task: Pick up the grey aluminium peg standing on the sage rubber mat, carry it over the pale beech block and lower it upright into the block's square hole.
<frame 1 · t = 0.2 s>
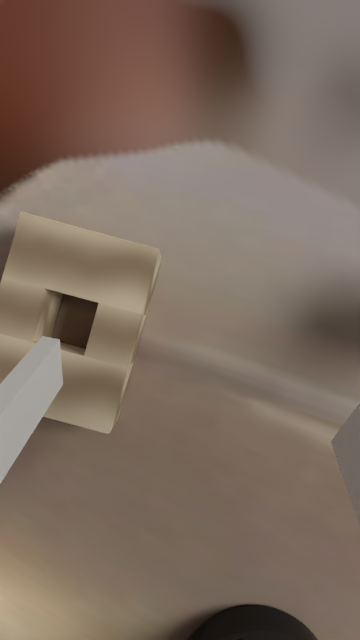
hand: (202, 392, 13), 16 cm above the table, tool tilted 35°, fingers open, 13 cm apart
block: (80, 322, 29), on the table
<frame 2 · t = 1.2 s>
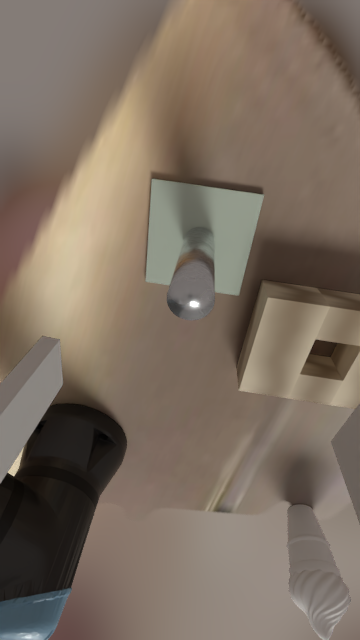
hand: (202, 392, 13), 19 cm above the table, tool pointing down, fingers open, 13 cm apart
soft serve ice cream cone: (299, 509, 52), on the table
peg: (199, 242, 29), resting on mat
mat: (199, 241, 29), on the table
block: (318, 338, 33), on the table
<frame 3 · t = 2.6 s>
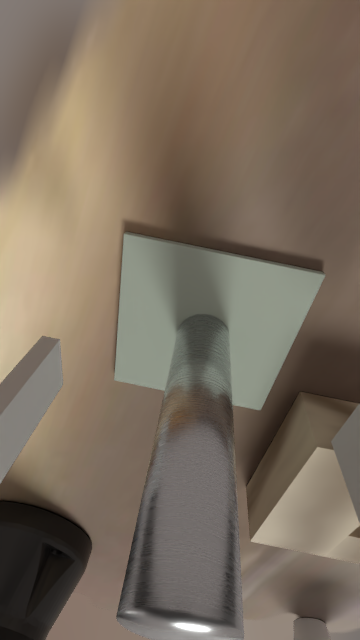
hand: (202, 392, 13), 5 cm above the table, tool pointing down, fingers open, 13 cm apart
soft serve ice cream cone: (309, 620, 42), on the table
peg: (202, 336, 17), resting on mat
mat: (203, 332, 17), on the table
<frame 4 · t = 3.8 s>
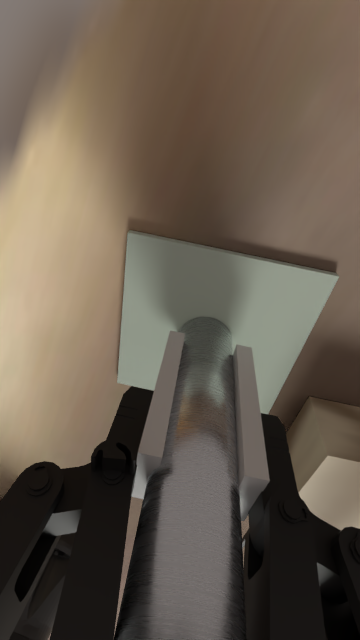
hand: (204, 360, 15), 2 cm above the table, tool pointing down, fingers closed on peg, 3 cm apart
peg: (204, 339, 16), resting on mat, touching gripper
mat: (209, 334, 17), on the table
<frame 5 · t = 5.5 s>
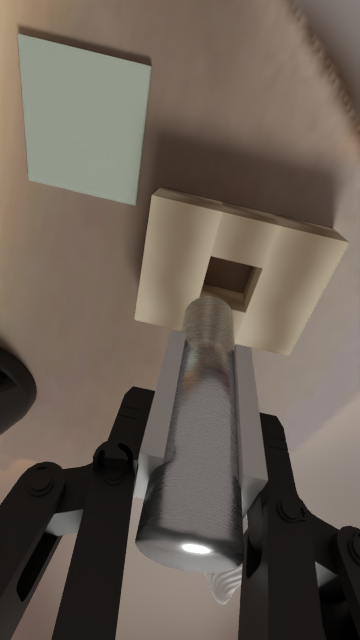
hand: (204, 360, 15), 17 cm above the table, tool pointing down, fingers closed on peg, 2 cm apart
soft serve ice cream cone: (224, 475, 50), on the table
peg: (208, 317, 18), point 13 cm above the table, touching gripper
mat: (85, 129, 25), on the table
block: (228, 268, 30), on the table
when the fingers open (5 cm above the table, at t = 7.6 s): peg drops 1 cm, resting in block.
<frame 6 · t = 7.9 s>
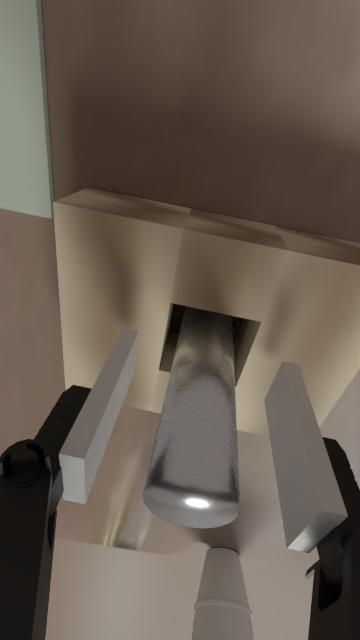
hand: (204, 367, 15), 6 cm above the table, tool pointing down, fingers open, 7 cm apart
soft serve ice cream cone: (222, 552, 39), on the table
peg: (208, 309, 19), resting in block
block: (208, 310, 19), on the table
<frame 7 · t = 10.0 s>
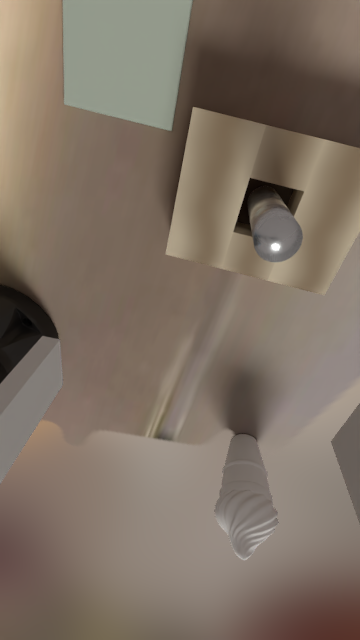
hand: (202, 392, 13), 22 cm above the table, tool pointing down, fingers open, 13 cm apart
soft serve ice cream cone: (243, 440, 49), on the table
peg: (263, 202, 29), resting in block
mat: (124, 45, 24), on the table
block: (263, 203, 29), on the table
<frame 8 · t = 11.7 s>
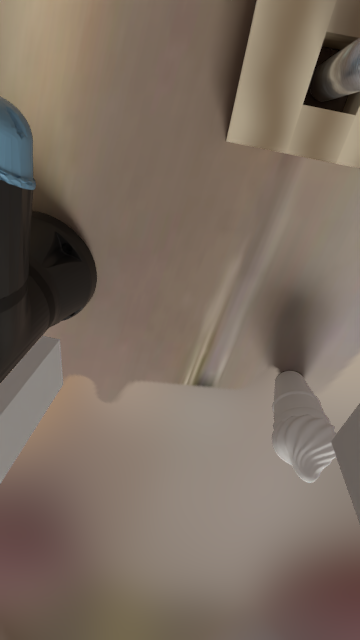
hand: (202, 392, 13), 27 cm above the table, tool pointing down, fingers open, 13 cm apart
soft serve ice cream cone: (289, 379, 47), on the table
peg: (327, 81, 27), resting in block
block: (327, 82, 27), on the table
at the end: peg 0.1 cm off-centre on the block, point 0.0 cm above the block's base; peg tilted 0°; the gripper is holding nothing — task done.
